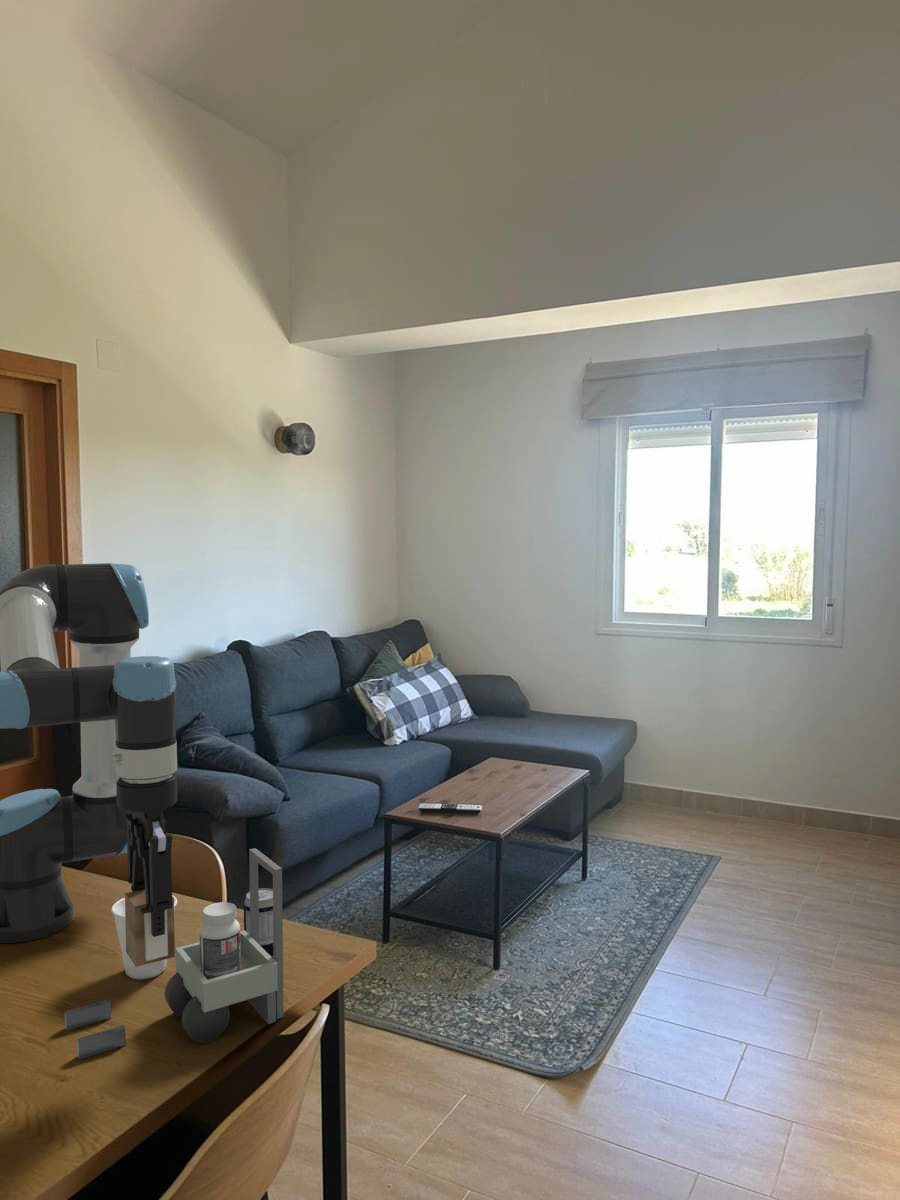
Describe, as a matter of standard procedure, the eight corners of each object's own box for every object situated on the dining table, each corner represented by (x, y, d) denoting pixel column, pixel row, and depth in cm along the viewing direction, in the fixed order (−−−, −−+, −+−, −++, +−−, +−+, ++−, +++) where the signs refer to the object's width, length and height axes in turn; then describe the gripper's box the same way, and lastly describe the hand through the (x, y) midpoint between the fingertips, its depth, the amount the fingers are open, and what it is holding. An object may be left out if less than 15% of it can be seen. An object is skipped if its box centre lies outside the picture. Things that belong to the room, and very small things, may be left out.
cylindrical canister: (287, 965, 142) (286, 893, 141) (259, 978, 138) (258, 904, 137) (265, 954, 146) (264, 884, 145) (237, 967, 141) (236, 895, 140)
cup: (158, 989, 134) (156, 919, 133) (99, 983, 136) (98, 914, 135) (189, 959, 144) (188, 894, 143) (135, 953, 146) (133, 889, 145)
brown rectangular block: (164, 942, 120) (163, 885, 119) (174, 956, 115) (173, 897, 115) (126, 951, 117) (124, 893, 116) (135, 967, 113) (134, 906, 112)
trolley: (162, 1011, 128) (159, 864, 127) (254, 984, 136) (252, 845, 134) (190, 1053, 118) (187, 893, 116) (287, 1021, 125) (285, 871, 124)
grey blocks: (65, 1027, 124) (64, 1011, 123) (109, 1015, 127) (109, 999, 127) (78, 1059, 116) (78, 1042, 116) (125, 1045, 119) (125, 1028, 119)
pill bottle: (249, 975, 127) (248, 908, 126) (214, 990, 122) (213, 921, 122) (226, 962, 130) (225, 897, 130) (192, 976, 126) (191, 909, 126)
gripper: (101, 765, 120) (105, 930, 121) (135, 797, 105) (139, 985, 106) (156, 757, 124) (160, 917, 126) (197, 787, 109) (200, 968, 111)
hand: (150, 948), depth 116 cm, fingers closed on brown rectangular block, 5 cm apart
